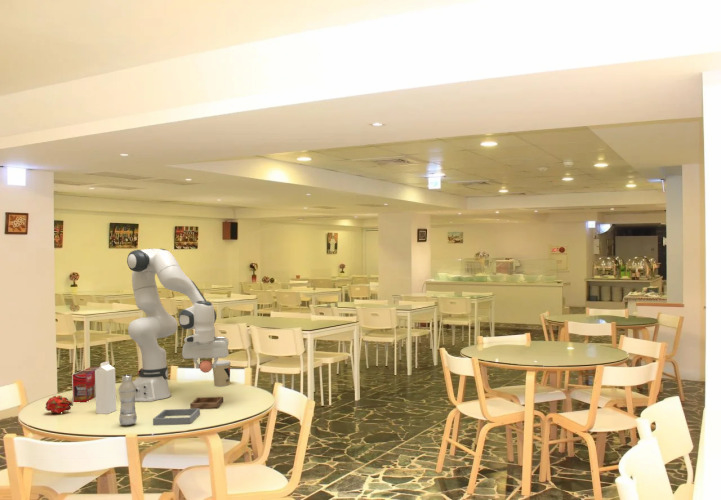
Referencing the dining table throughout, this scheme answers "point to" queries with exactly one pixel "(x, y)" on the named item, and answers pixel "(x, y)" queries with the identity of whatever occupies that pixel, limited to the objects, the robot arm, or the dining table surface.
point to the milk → (105, 389)
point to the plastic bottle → (127, 401)
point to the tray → (206, 403)
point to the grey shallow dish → (176, 412)
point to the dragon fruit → (58, 404)
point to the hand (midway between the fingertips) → (205, 367)
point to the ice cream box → (84, 385)
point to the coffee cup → (222, 373)
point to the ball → (205, 366)
